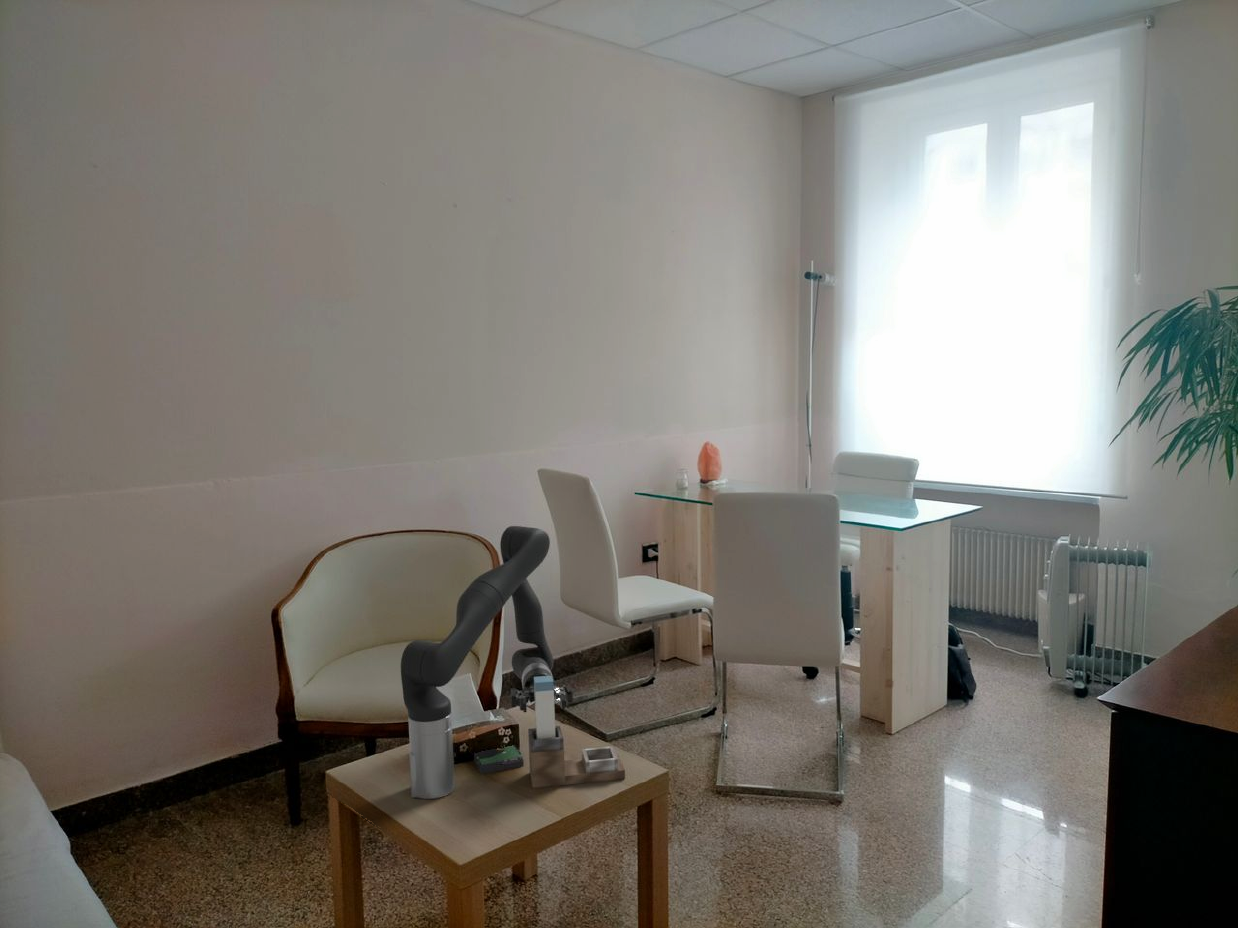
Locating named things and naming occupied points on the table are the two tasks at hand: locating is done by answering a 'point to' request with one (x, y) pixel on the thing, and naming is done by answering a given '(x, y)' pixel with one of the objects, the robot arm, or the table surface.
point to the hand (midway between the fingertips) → (544, 706)
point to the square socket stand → (570, 763)
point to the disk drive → (498, 759)
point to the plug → (544, 707)
